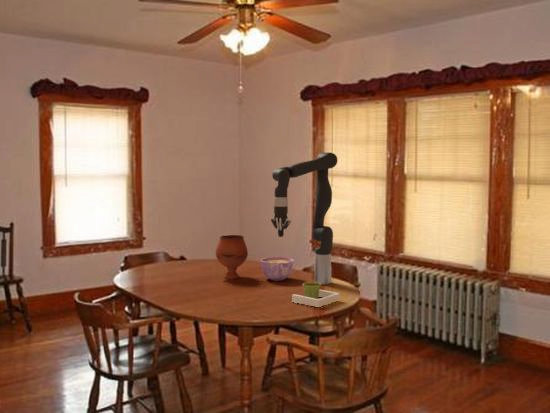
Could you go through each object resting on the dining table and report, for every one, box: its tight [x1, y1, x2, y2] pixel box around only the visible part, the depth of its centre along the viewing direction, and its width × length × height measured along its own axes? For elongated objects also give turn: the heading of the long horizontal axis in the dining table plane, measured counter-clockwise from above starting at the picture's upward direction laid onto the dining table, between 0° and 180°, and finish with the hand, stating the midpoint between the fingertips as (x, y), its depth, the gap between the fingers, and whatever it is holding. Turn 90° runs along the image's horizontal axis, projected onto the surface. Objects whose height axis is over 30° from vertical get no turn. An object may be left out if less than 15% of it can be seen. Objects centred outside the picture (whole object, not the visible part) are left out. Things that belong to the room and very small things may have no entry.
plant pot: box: [302, 281, 322, 299], centre depth 286 cm, size 9×9×9 cm
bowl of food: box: [260, 256, 295, 282], centre depth 335 cm, size 20×20×12 cm
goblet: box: [215, 234, 249, 280], centre depth 339 cm, size 19×19×25 cm
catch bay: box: [291, 288, 340, 308], centre depth 285 cm, size 18×16×4 cm
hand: (280, 236), depth 310 cm, fingers closed
